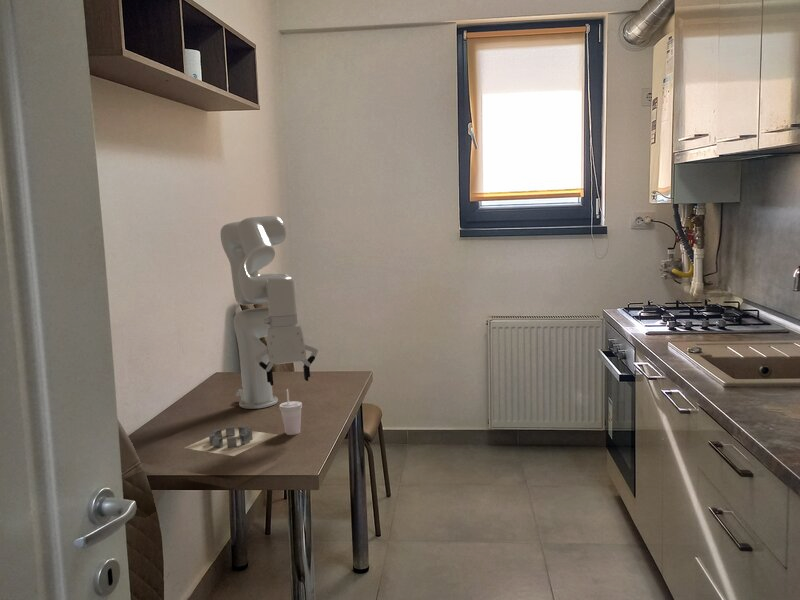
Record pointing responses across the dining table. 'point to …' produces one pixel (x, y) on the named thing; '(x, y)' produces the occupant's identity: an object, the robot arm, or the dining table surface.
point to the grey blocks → (231, 442)
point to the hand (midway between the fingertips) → (289, 382)
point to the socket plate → (205, 446)
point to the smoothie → (291, 415)
